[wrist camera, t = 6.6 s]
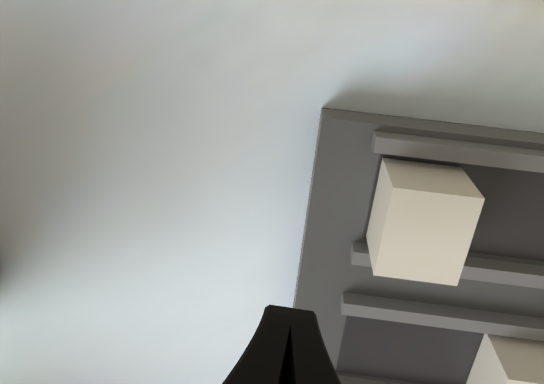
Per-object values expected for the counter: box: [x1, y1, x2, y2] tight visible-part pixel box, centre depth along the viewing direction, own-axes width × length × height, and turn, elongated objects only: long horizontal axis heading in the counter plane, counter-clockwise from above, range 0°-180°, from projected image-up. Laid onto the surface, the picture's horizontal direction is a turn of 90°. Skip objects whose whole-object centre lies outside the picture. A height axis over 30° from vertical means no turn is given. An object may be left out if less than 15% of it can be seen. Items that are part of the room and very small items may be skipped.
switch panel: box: [293, 108, 544, 384], centre depth 22 cm, size 14×21×2 cm, turn 175°
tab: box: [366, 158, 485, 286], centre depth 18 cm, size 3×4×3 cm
